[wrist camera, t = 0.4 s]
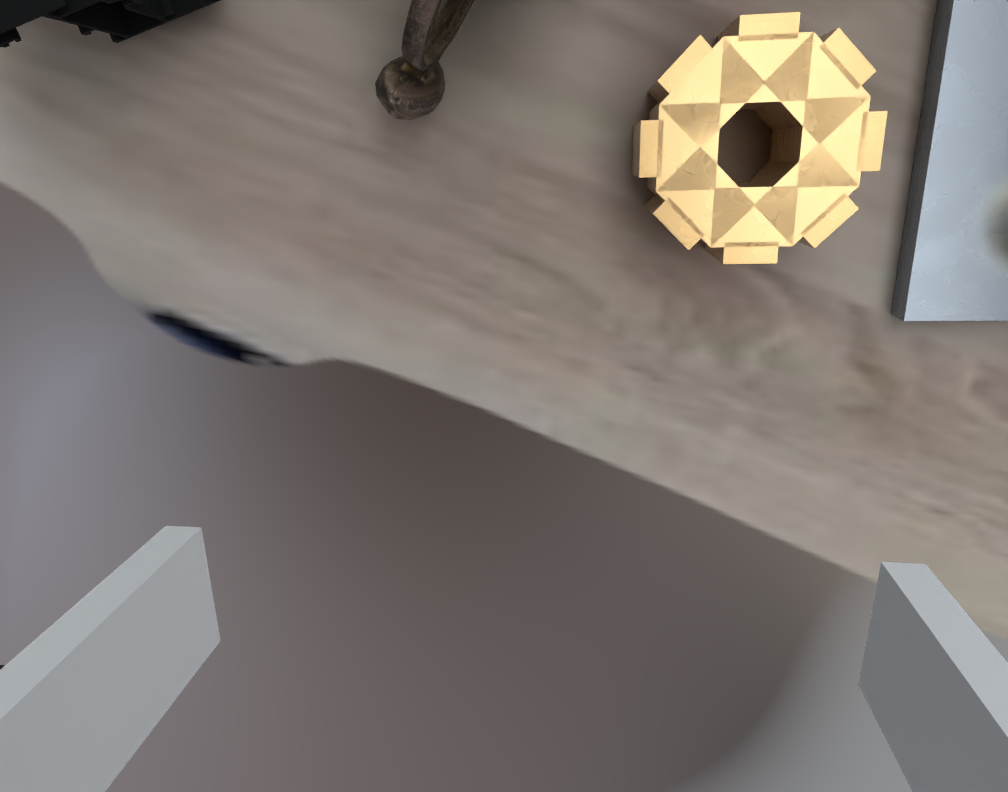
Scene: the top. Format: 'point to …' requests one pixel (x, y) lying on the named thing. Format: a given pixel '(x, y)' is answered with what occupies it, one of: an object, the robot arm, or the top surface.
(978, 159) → the carrier
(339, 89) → the top surface
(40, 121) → the top surface
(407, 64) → the mechanical counter
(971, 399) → the top surface
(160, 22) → the extrusion
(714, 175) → the gear
